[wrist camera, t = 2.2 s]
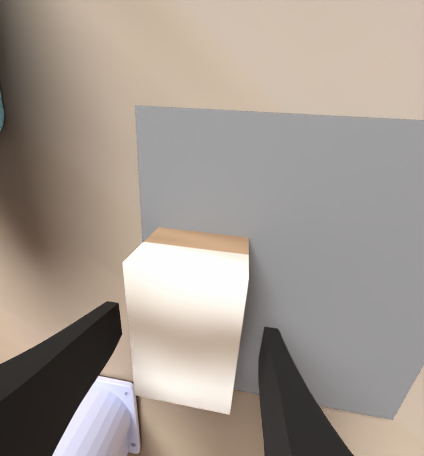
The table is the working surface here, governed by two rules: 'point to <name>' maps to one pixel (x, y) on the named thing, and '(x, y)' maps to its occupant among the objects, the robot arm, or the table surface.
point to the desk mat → (305, 236)
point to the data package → (1, 112)
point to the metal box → (186, 316)
